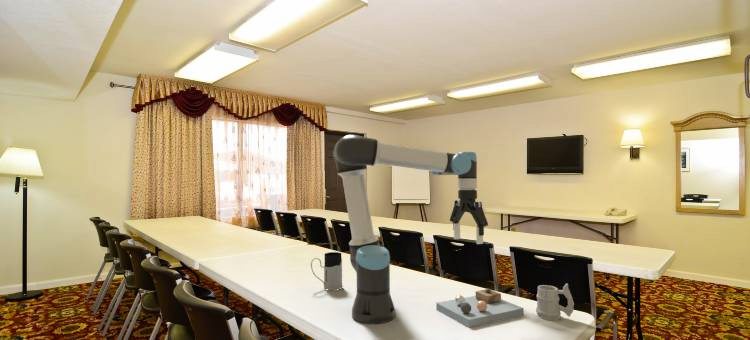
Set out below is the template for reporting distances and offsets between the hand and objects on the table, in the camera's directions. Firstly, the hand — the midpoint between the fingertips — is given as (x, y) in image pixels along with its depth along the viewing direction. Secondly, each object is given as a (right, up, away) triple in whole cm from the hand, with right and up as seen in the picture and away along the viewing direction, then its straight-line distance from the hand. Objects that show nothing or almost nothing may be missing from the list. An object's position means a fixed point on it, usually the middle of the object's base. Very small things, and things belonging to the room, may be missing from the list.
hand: (468, 241), depth 149 cm
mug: (+23, -22, -25) cm, 40 cm away
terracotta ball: (-2, -17, -25) cm, 30 cm away
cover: (+4, -19, -14) cm, 24 cm away
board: (-1, -22, -19) cm, 29 cm away
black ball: (-8, -17, -27) cm, 33 cm away
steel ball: (-8, -17, -19) cm, 27 cm away
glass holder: (-59, -23, +11) cm, 64 cm away
